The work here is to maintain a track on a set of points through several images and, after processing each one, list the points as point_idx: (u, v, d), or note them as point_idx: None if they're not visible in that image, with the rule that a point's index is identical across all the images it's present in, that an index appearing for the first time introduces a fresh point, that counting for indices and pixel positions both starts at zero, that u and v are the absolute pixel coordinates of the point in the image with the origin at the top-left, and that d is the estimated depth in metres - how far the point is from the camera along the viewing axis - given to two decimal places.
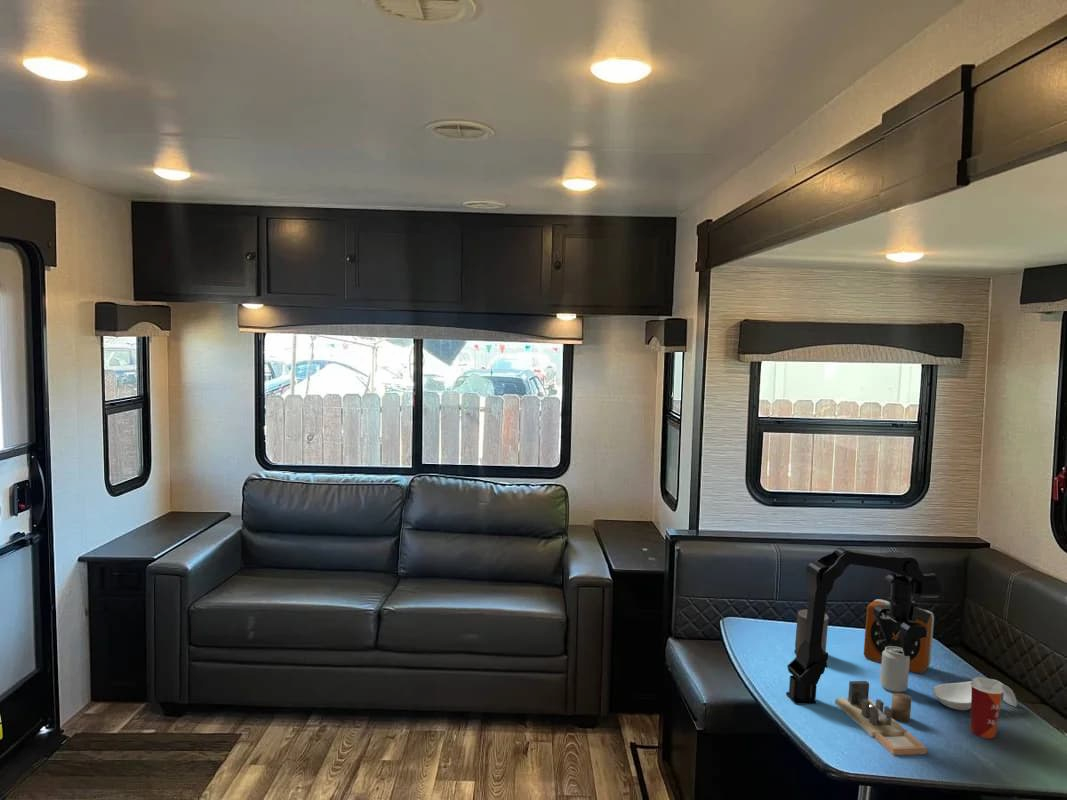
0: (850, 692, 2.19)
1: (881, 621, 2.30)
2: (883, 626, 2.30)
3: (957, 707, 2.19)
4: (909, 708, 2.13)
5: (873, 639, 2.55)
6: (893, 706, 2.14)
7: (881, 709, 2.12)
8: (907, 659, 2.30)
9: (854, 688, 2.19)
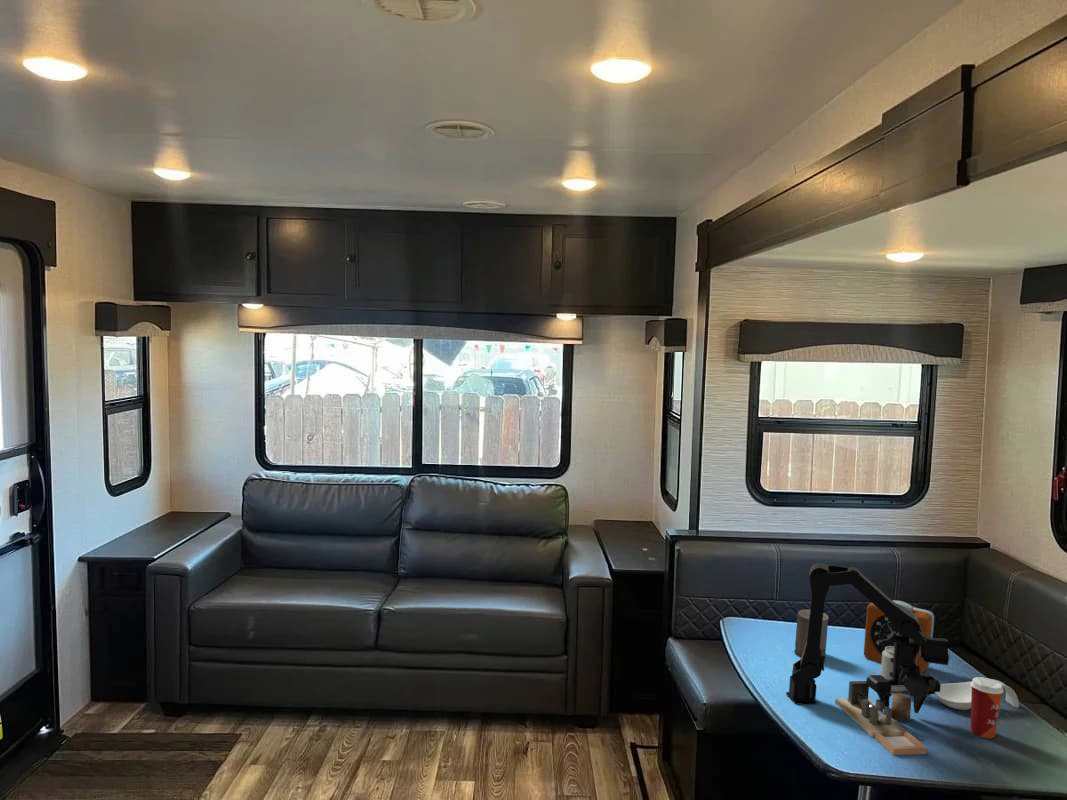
0: (850, 692, 2.19)
1: None
2: None
3: (957, 707, 2.20)
4: (909, 708, 2.13)
5: (873, 639, 2.55)
6: (893, 706, 2.14)
7: (881, 709, 2.12)
8: None
9: (854, 688, 2.19)
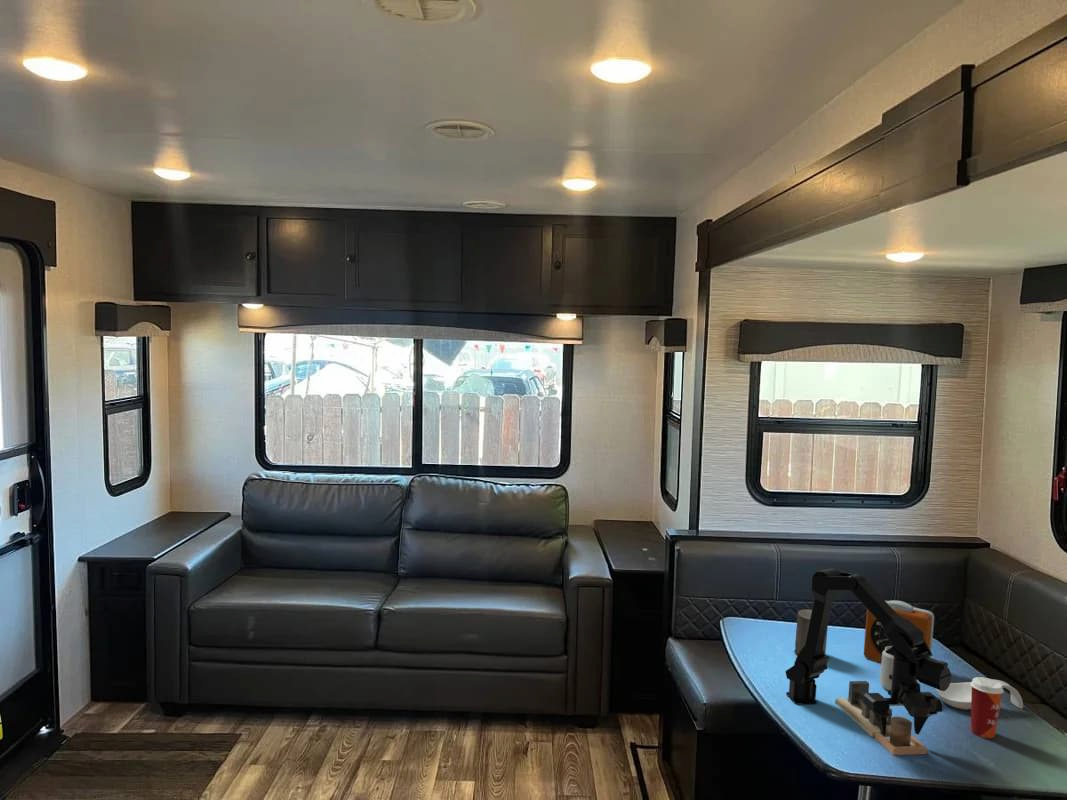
0: (850, 692, 2.19)
1: None
2: None
3: (958, 706, 2.20)
4: (909, 733, 1.98)
5: (873, 639, 2.55)
6: (892, 731, 1.99)
7: None
8: None
9: (854, 688, 2.19)
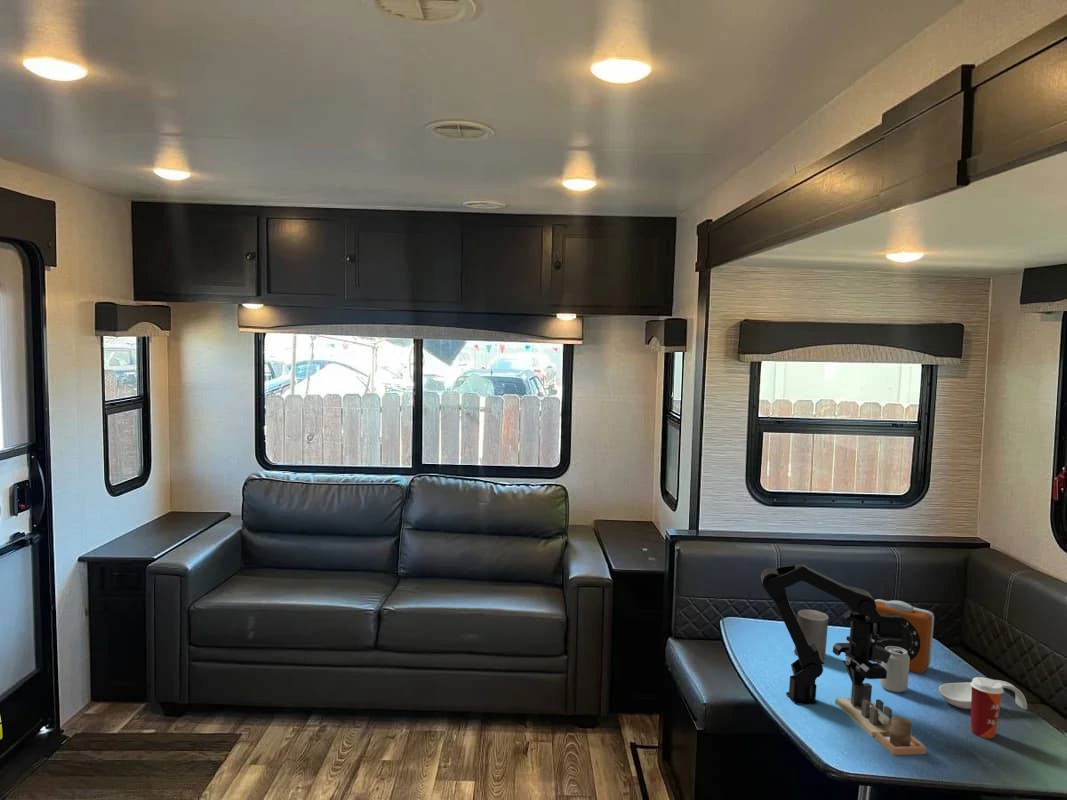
0: (853, 694, 2.18)
1: (849, 666, 2.21)
2: (851, 671, 2.21)
3: (960, 705, 2.21)
4: (909, 733, 1.98)
5: None
6: (892, 731, 1.99)
7: (881, 709, 2.12)
8: (907, 659, 2.30)
9: (856, 690, 2.17)
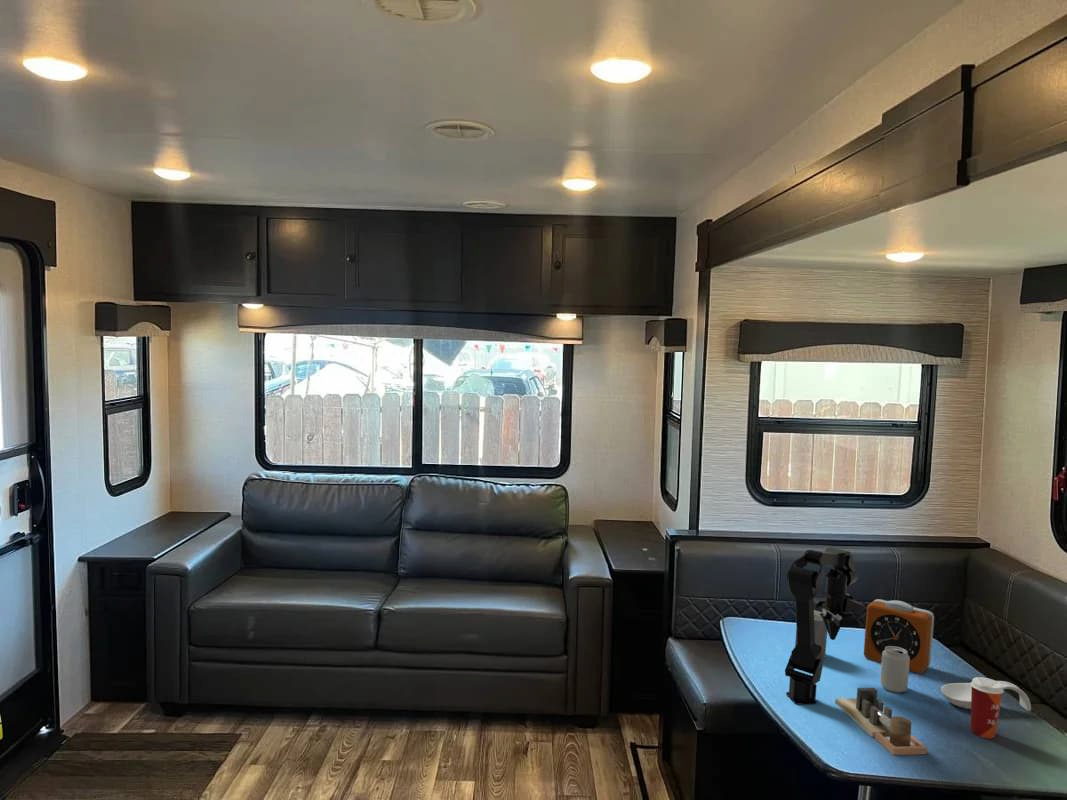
0: (858, 699, 2.15)
1: (825, 618, 2.39)
2: (827, 623, 2.39)
3: (961, 705, 2.21)
4: (908, 733, 1.98)
5: (873, 639, 2.55)
6: (891, 730, 2.00)
7: (881, 709, 2.12)
8: (907, 659, 2.30)
9: (862, 695, 2.14)
